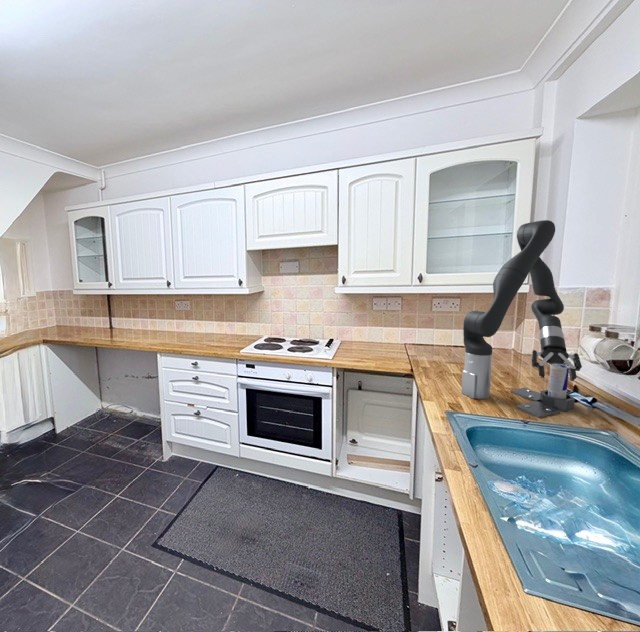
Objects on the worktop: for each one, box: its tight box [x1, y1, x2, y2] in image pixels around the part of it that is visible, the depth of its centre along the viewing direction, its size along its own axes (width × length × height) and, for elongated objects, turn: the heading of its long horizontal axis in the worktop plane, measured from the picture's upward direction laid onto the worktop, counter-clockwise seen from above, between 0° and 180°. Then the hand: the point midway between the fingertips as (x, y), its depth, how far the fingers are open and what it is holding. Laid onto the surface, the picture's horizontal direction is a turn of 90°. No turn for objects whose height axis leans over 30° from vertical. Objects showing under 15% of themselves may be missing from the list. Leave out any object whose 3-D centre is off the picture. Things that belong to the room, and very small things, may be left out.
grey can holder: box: [510, 387, 576, 419], centre depth 108 cm, size 19×19×4 cm
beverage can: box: [547, 364, 569, 400], centre depth 104 cm, size 5×5×15 cm
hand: (557, 378), depth 105 cm, fingers open, 8 cm apart
